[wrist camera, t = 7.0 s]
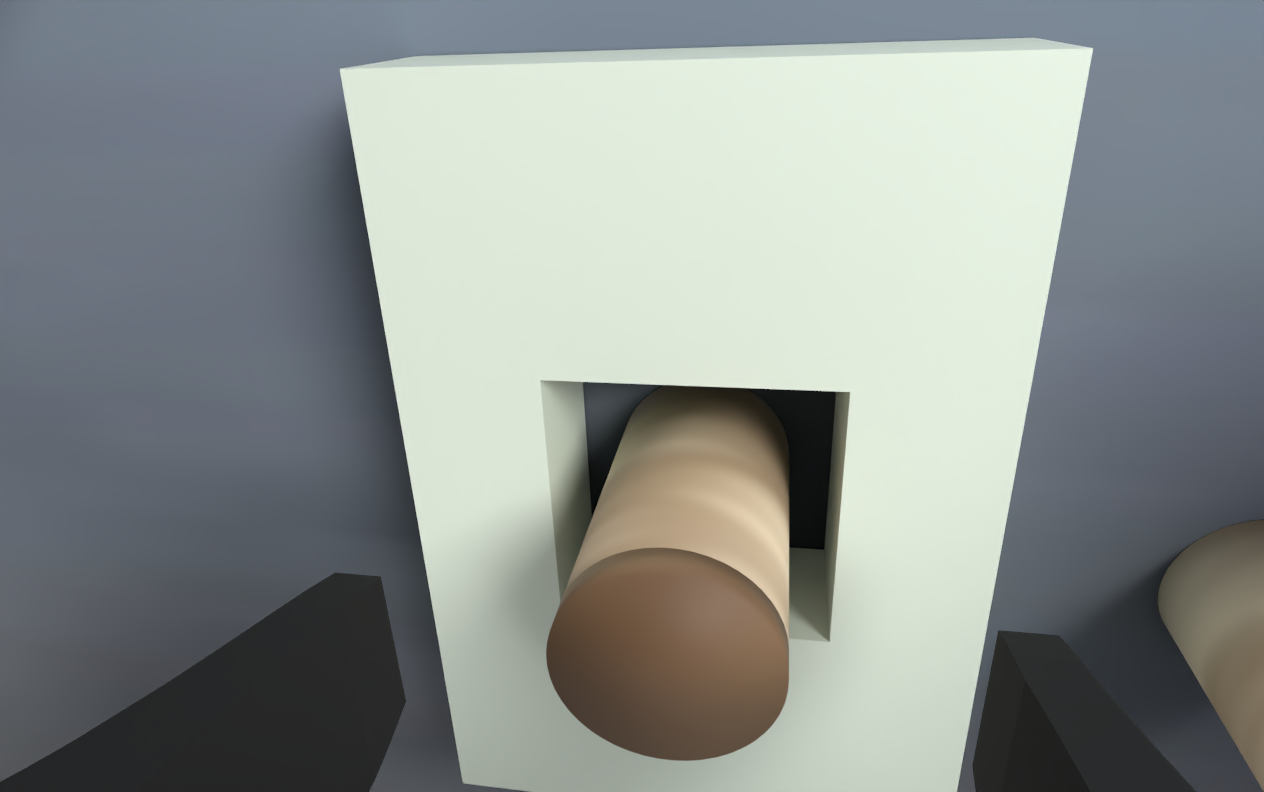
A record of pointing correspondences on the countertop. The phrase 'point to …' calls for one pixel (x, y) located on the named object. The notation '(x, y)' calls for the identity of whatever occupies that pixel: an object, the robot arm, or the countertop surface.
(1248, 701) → the dowel short
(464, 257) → the board
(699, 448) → the dowel medium
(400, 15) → the countertop surface
